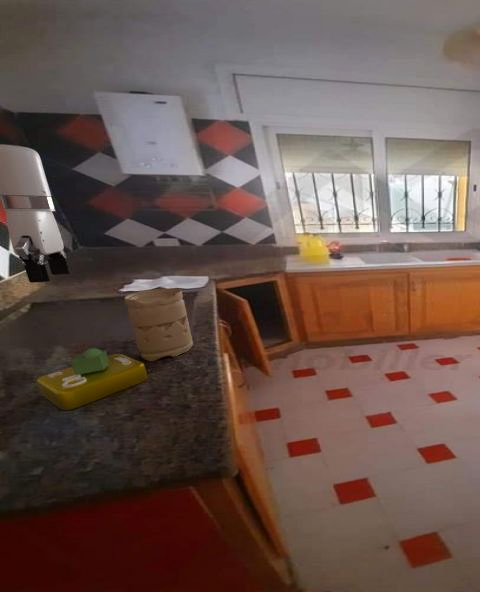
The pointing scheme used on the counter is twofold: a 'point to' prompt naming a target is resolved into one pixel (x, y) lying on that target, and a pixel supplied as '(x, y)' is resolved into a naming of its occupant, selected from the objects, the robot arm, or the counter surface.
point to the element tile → (91, 382)
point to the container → (159, 323)
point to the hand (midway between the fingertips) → (51, 277)
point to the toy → (90, 361)
